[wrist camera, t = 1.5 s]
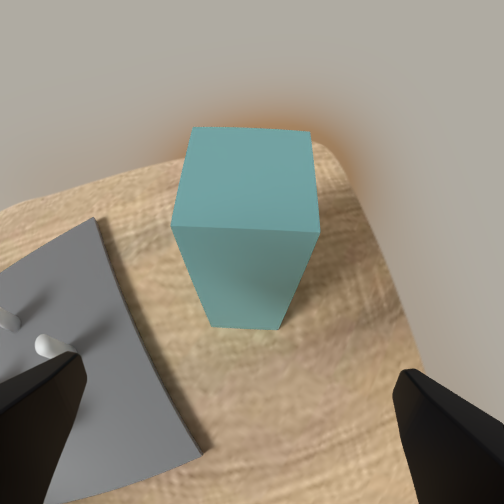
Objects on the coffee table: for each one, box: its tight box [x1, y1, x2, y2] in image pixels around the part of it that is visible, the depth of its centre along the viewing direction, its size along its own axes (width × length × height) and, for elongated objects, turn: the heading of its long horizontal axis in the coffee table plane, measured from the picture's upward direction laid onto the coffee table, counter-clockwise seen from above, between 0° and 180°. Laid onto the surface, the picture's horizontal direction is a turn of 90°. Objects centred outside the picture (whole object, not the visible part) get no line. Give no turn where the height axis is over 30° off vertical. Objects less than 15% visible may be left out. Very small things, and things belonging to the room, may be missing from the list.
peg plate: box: [0, 217, 203, 504], centre depth 16 cm, size 20×20×4 cm
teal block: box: [171, 127, 320, 330], centre depth 16 cm, size 4×4×13 cm
